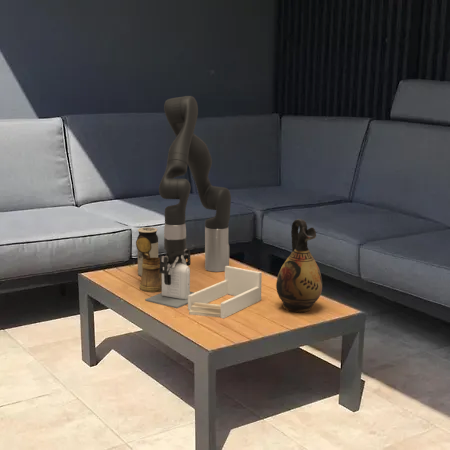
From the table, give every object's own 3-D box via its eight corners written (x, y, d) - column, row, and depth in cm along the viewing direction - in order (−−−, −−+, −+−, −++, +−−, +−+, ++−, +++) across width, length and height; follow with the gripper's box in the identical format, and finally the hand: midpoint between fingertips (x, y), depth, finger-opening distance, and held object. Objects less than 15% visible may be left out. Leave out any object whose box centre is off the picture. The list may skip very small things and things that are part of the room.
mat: (174, 289, 261) (174, 287, 260) (205, 296, 253) (205, 294, 253) (145, 300, 248) (145, 299, 248) (177, 308, 240) (177, 306, 240)
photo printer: (191, 297, 250) (191, 262, 248) (186, 300, 246) (186, 265, 244) (165, 293, 254) (165, 259, 252) (159, 296, 250) (159, 262, 248)
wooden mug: (152, 280, 271) (151, 234, 267) (169, 289, 260) (168, 241, 256) (130, 284, 266) (129, 237, 262) (147, 293, 255) (146, 244, 251)
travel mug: (154, 270, 284) (154, 226, 280) (161, 276, 277) (160, 230, 273) (135, 272, 281) (134, 228, 277) (141, 278, 274) (140, 232, 270)
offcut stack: (193, 310, 239) (193, 302, 238) (224, 313, 236) (224, 304, 236) (189, 315, 234) (188, 306, 234) (220, 318, 232) (220, 309, 231)
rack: (226, 292, 257) (227, 265, 255) (261, 300, 249) (261, 272, 247) (188, 309, 239) (187, 280, 237) (223, 318, 231) (223, 288, 229)
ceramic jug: (330, 312, 238) (334, 223, 231) (288, 317, 232) (291, 227, 225) (305, 297, 253) (308, 213, 247) (265, 302, 247) (267, 217, 241)
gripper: (179, 231, 253) (179, 275, 257) (153, 238, 242) (153, 284, 245) (196, 233, 249) (196, 278, 253) (170, 241, 238) (171, 288, 241)
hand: (175, 281), depth 249 cm, fingers open, 8 cm apart
